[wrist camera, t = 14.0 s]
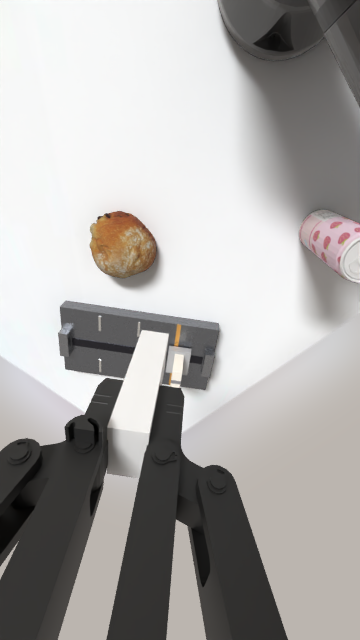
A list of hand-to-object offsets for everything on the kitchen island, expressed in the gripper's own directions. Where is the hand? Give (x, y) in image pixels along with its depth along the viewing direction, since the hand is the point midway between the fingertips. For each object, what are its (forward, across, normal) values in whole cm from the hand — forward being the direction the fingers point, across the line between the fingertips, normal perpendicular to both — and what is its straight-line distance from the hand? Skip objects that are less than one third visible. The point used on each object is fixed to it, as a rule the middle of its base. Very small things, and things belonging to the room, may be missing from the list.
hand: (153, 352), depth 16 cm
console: (+32, -6, -23) cm, 40 cm away
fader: (+30, +2, -23) cm, 37 cm away
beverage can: (+33, +20, +3) cm, 38 cm away
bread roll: (+33, -9, -4) cm, 34 cm away
